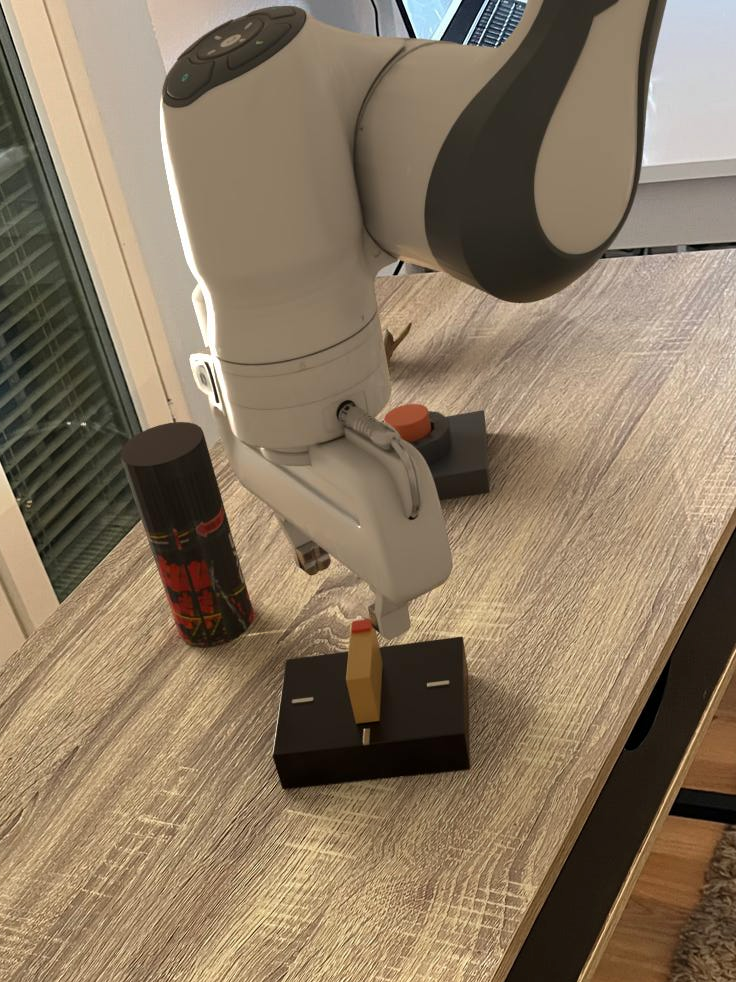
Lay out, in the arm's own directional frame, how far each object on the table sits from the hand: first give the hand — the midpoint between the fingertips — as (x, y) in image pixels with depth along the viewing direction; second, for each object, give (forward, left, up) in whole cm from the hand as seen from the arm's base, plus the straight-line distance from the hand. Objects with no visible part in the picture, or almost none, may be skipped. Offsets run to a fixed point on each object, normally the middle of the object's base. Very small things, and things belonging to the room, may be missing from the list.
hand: (351, 598), depth 77 cm
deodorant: (+13, -15, -11) cm, 23 cm away
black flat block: (0, 0, -11) cm, 11 cm away
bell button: (-2, -33, -7) cm, 34 cm away
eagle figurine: (+3, -55, -11) cm, 57 cm away
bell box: (-2, -33, -11) cm, 35 cm away
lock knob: (0, 0, -8) cm, 8 cm away
